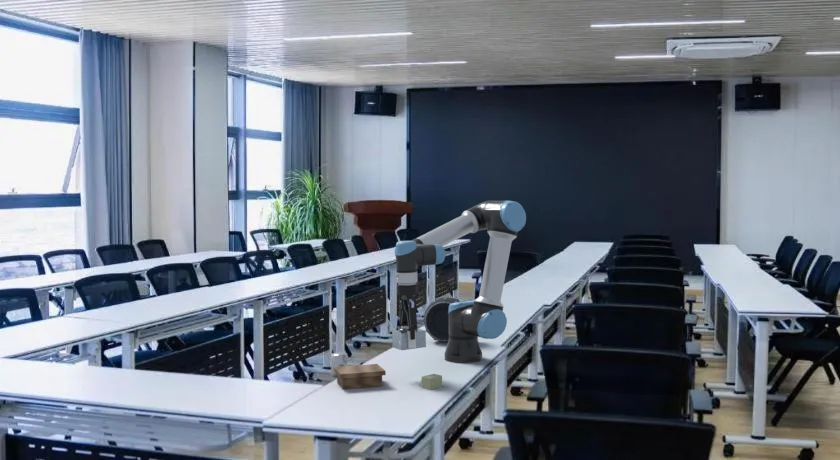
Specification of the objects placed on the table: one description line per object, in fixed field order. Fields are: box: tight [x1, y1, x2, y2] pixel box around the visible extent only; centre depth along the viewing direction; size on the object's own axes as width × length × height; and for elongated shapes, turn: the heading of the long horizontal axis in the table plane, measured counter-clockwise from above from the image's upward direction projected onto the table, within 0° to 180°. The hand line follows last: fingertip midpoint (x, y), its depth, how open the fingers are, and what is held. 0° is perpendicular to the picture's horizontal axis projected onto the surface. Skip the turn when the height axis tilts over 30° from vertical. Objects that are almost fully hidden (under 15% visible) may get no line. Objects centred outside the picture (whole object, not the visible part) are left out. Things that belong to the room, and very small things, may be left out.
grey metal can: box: [330, 352, 348, 378], centre depth 309 cm, size 6×6×8 cm
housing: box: [391, 328, 427, 351], centre depth 304 cm, size 10×7×7 cm
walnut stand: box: [334, 363, 387, 390], centre depth 295 cm, size 16×12×6 cm
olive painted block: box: [421, 373, 443, 390], centre depth 290 cm, size 6×4×4 cm, turn 133°
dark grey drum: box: [422, 296, 461, 344], centre depth 372 cm, size 11×20×20 cm, turn 78°
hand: (408, 345), depth 304 cm, fingers closed on housing, 8 cm apart
